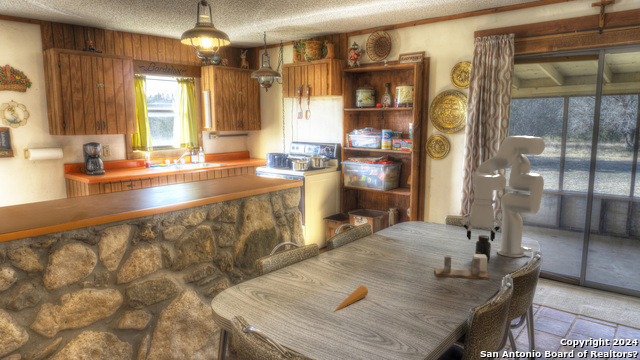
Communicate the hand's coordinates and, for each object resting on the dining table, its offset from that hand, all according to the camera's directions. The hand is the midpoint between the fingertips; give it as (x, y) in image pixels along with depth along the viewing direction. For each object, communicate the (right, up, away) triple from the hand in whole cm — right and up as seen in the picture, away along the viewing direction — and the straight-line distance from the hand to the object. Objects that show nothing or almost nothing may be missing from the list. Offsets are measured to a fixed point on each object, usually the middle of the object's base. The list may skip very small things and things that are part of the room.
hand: (480, 239), depth 184 cm
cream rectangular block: (0, -14, +2) cm, 14 cm away
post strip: (-10, -15, -4) cm, 18 cm away
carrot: (-62, -19, -32) cm, 72 cm away
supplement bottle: (+7, -13, +16) cm, 22 cm away
